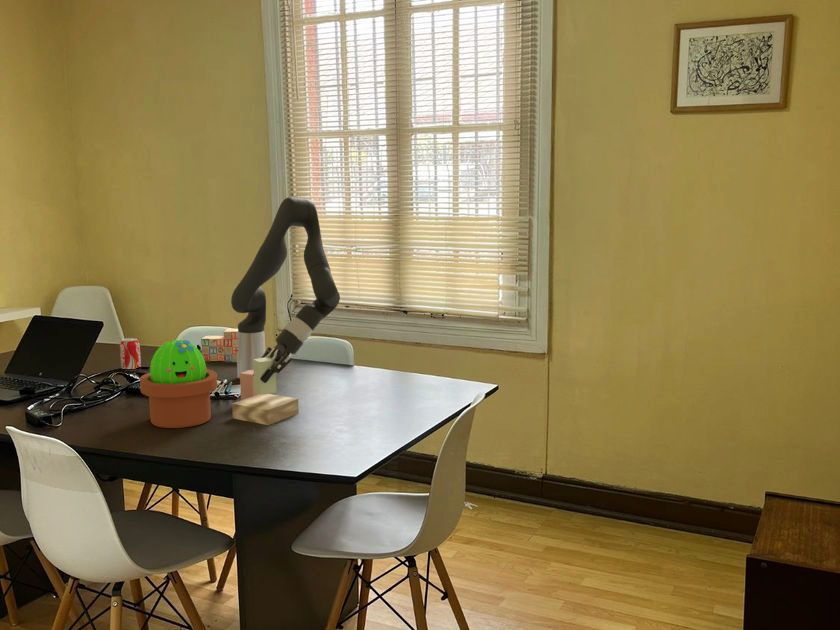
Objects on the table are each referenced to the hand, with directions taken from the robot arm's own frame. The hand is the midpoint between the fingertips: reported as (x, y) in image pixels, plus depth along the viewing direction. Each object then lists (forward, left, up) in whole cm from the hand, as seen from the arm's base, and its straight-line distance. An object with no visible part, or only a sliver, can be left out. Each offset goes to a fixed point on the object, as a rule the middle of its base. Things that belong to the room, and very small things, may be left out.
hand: (259, 379), depth 253 cm
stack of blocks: (-58, +57, -12) cm, 82 cm away
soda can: (-80, +27, -12) cm, 85 cm away
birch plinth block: (+1, +2, -12) cm, 12 cm away
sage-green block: (+1, +2, -4) cm, 5 cm away
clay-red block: (-12, +12, -12) cm, 20 cm away
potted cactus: (-19, -13, -12) cm, 26 cm away
